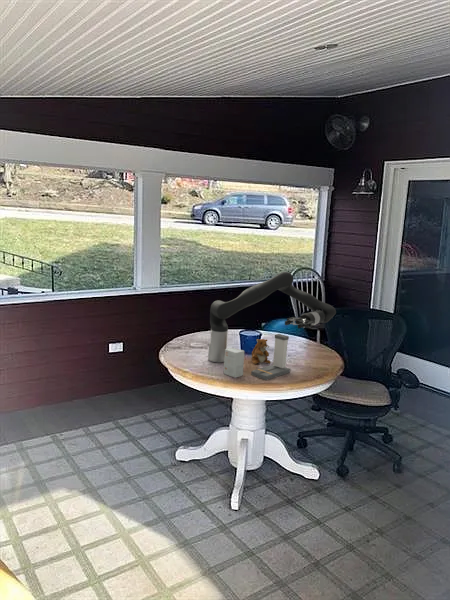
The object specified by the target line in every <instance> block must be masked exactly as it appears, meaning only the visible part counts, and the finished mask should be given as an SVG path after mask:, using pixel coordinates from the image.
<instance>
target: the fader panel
mask: <svg viewBox="0 0 450 600" xmlns="http://www.w3.org/2000/svg"><path fill="white" fill-rule="evenodd" d="M290 372H291V368H290V367H289V368H288V367H287V366H286V367H285V368H279V367H276V366H273V364H269V365H266V366H264V367H263V366H262V367H261V368H257V369H254V370H251V371H250V375H251V376H253V377H256V378H259V379H261V380H264V381H267V380H271V379H273V378H277V377H279V376H282V375H283V376H284V375H286V374H289V373H290Z"/></svg>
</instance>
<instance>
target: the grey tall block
mask: <svg viewBox="0 0 450 600" xmlns="http://www.w3.org/2000/svg"><path fill="white" fill-rule="evenodd" d="M289 338H290V337H289V335H285V334H280V333H277V334H274V348H273V359H272V360H273V362H272V365H273V366H276V367H279V368H285V367H287V366H286V365H287V355H288V354H287V353H288V341H289Z"/></svg>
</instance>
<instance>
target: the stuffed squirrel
mask: <svg viewBox="0 0 450 600" xmlns="http://www.w3.org/2000/svg"><path fill="white" fill-rule="evenodd" d="M256 342H257V343H256V344H255V346H254V348H253V349H252V351H251V361H252V364H253V365H257V364H259V363H260V364H261V363H264V364H271V360H270V359H269V358H268V357H269V356H270V353H269V351H268V350H267V348H270V346H269V345H268V343H267V342H268V339H265V338H260V339H258V338H257V339H256Z"/></svg>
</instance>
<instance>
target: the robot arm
mask: <svg viewBox="0 0 450 600" xmlns="http://www.w3.org/2000/svg"><path fill="white" fill-rule="evenodd" d="M293 276H294V275H293V274H292V273H291V272H288V271H281V272H279V273H278V274H277V275H275V276H274V277H271V278H270V279H268V280H265V281H262V282H259V283H257V284H255V285H252V286H250V287H248V288H246V289H245V290H243V291H242V292H241V293H240V294H239V295H237V297H236V298H234V299H232V300H229V301H223V300H220V299H219V300H218V299H217V300H215V301H213V302H212V303H211V305H210V310H209V312H210V313H209V324H210V340H209V341H210V342H209V343H208V351H207V354H208V355H207V361H210V362H213V363H224V358H225V349H228V347H227V346H228V333H229V331H228V330H229V326H228V324H227V321H226V319H228V318H230V317H231V316H233V315H235V314H237V313H238V312H239V311H241V310H243V309H246V308H248V307H250V306H253V305H255V304H257V303H259V302H260V301H263V300H264V299H266V298H267V297H268V296H270V295H271V294H273V293H274V292H276V291H277V290H278V291H280V292H282V293H284V294H286V295H288V296H290V297H291V298H293V299H294V300H297V301H298V302H299V303H301V304H302V305H303V306H305V307H307V308H308V309H310V310H311V311H310V312H305V313H303V314H301V315H300V316H299V317H296V316H293V317H287V318H286V321H284V325H285V326H289V325H293V326H297V329H302V328H303V329H305V328H306V329H309V328H311V327H314V326H315V325H317V324H320V323H322V324H326V323H328V322H330V321H331V320H332V319H333V317H334V316H335V315H336V314H337V311H336V310H337V309H336V308H335V307H334V306H332V305H331V304H329V303H326V302H324V301H321V300H319V299H318V298H317V297H315V296H314V295H312V294H311V293H309V292H306V291H304V290H301V289H298V288H296V287H295V286H293V282H294V277H293Z"/></svg>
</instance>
